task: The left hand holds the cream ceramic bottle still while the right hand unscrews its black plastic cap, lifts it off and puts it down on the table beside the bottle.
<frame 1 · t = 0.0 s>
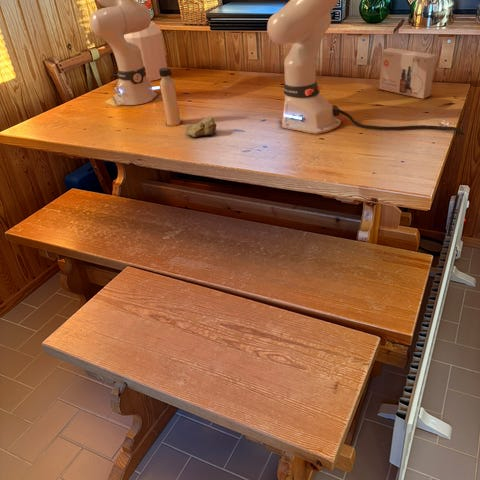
skincare box: (403, 93, 189), on the table
bottle: (173, 123, 182), on the table
rock: (201, 133, 171), on the table
container: (148, 76, 243), on the table
cap: (164, 69, 171), point 20 cm above the table, screwed on, not yet turned
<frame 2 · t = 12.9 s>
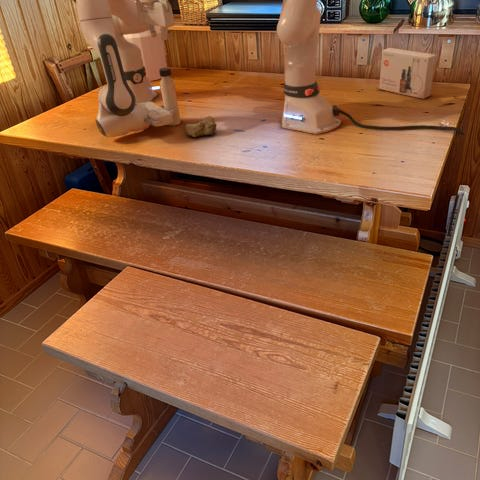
left hand: (173, 108, 179), 6 cm above the table, tool horizontal, fingers closed on bottle, 5 cm apart
right hand: (159, 38, 164), 31 cm above the table, tool pointing down, fingers open, 6 cm apart
bottle: (173, 123, 182), on the table, touching left hand
everything else where it was.
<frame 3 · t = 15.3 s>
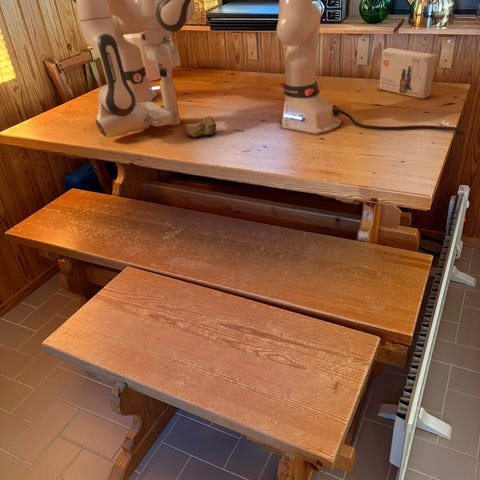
left hand: (173, 108, 179), 6 cm above the table, tool horizontal, fingers closed on bottle, 5 cm apart
right hand: (165, 75, 172), 18 cm above the table, tool pointing down, fingers closed on cap, 4 cm apart
bottle: (173, 123, 182), on the table, touching left hand
cap: (164, 69, 171), point 20 cm above the table, screwed on, not yet turned, touching right hand
everything else where it was.
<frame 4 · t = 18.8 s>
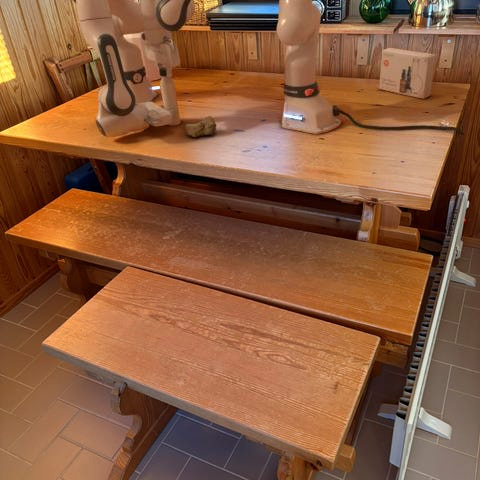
left hand: (173, 108, 179), 6 cm above the table, tool horizontal, fingers closed on bottle, 5 cm apart
right hand: (165, 75, 172), 18 cm above the table, tool pointing down, fingers closed on cap, 4 cm apart
bottle: (173, 123, 182), on the table, touching left hand
cap: (164, 69, 170), point 21 cm above the table, turned 96° so far, risen 0.1 cm, still on its thread, touching right hand
everything else where it was.
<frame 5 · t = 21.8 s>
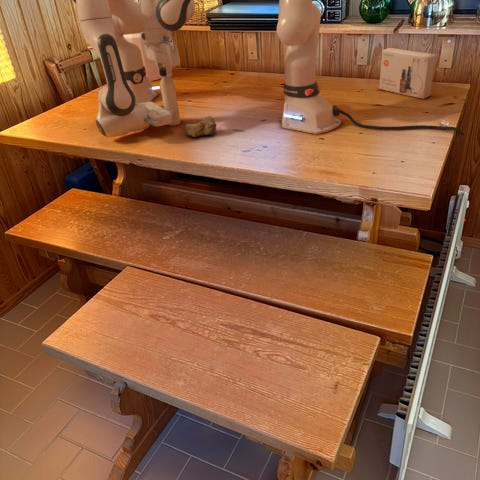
left hand: (173, 108, 179), 6 cm above the table, tool horizontal, fingers closed on bottle, 5 cm apart
right hand: (165, 75, 172), 19 cm above the table, tool pointing down, fingers closed on cap, 4 cm apart
bottle: (173, 123, 182), on the table, touching left hand
cap: (164, 69, 170), point 21 cm above the table, turned 192° so far, risen 0.2 cm, still on its thread, touching right hand
everything else where it was.
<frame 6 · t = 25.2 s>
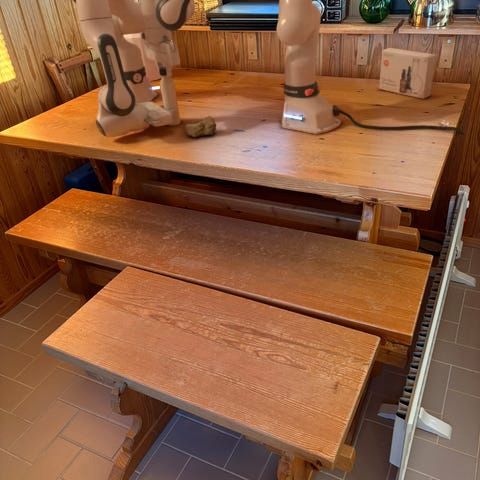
left hand: (173, 108, 179), 6 cm above the table, tool horizontal, fingers closed on bottle, 5 cm apart
right hand: (165, 74, 172), 19 cm above the table, tool pointing down, fingers closed on cap, 4 cm apart
bottle: (173, 123, 182), on the table, touching left hand
cap: (164, 68, 170), point 21 cm above the table, turned 287° so far, risen 0.3 cm, still on its thread, touching right hand
everything else where it was.
when the right hand's fingers open (2 cm above the table, at t = 34.3 s): cap drops 2 cm, point 2 cm above the table.
when the left hand's fingers open (6 cm above the table, at t = 35.5 s): bottle stays where it is, on the table.
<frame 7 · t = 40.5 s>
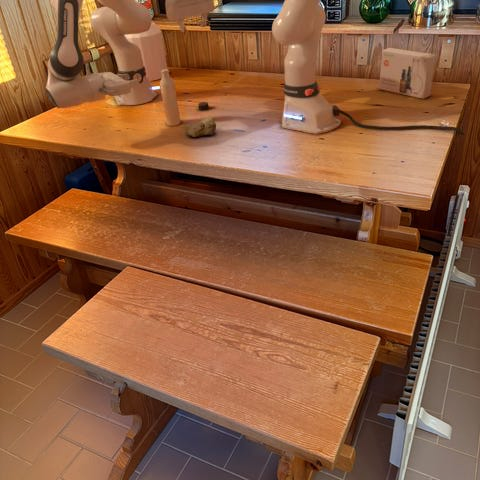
left hand: (133, 78, 166), 20 cm above the table, tool horizontal, fingers open, 8 cm apart
right hand: (193, 29, 176), 31 cm above the table, tool pointing down, fingers open, 8 cm apart
bottle: (173, 123, 182), on the table
cap: (203, 104, 192), point 2 cm above the table, off its thread
everything else where it was.
at the end: cap came off its thread; cap point 1.9 cm above the table; the left hand is holding nothing; the right hand is holding nothing; bottle tilted 0°; bottle moved 0.0 cm from its start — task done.
